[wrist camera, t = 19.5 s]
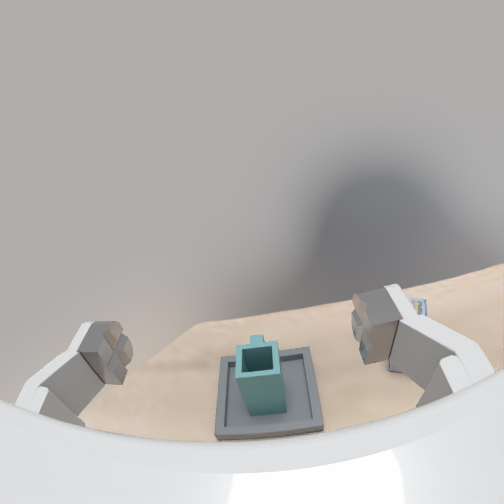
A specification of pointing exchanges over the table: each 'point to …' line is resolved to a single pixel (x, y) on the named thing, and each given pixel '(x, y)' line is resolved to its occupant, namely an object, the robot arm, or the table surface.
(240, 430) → the tray
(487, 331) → the table surface
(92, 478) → the robot arm
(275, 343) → the tabbed sleeve
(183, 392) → the table surface
